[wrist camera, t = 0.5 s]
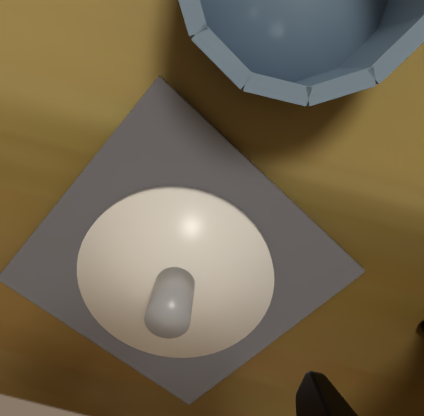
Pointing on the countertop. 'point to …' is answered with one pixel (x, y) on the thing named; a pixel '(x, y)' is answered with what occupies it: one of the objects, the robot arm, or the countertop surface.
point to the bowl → (305, 43)
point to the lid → (176, 272)
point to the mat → (190, 177)
